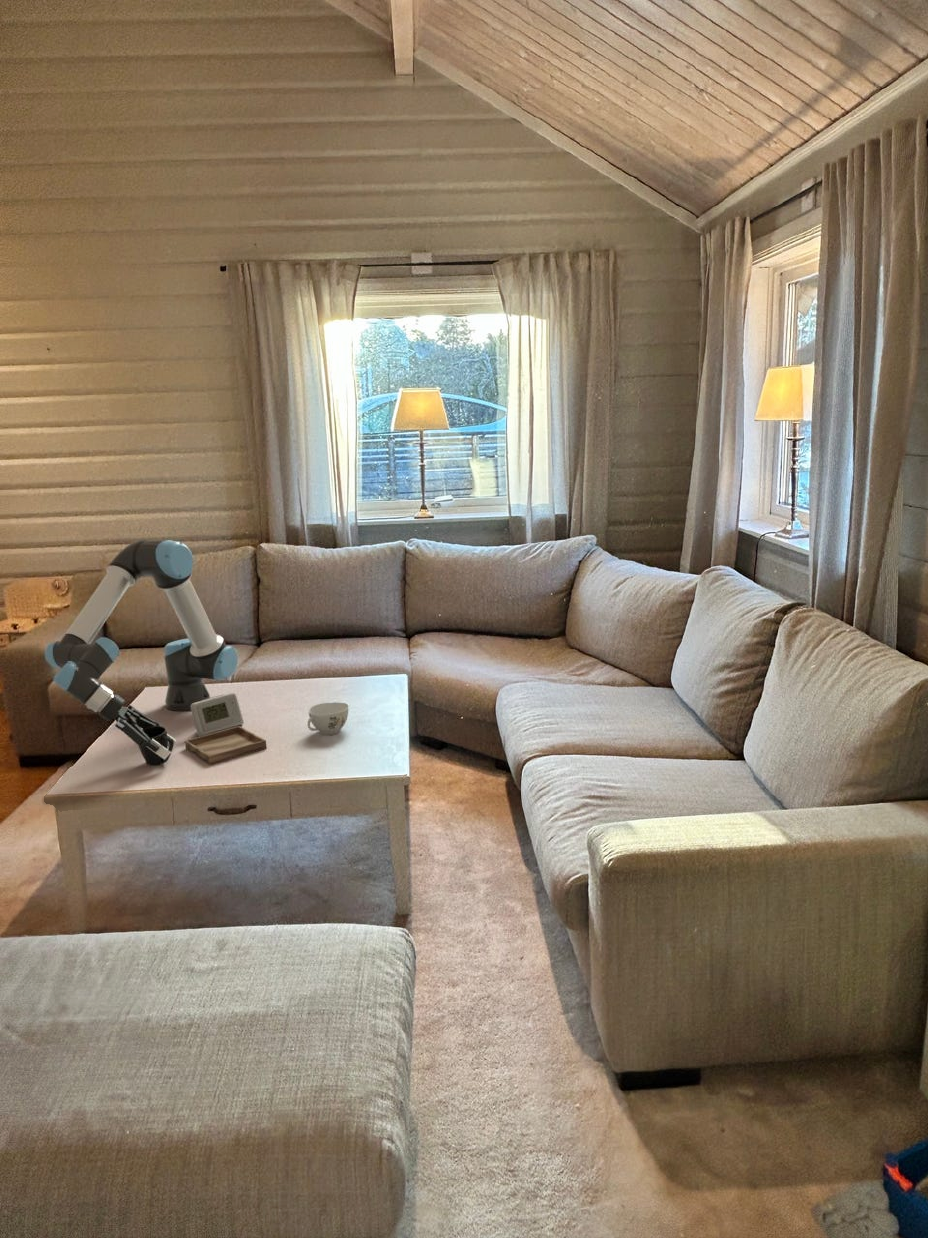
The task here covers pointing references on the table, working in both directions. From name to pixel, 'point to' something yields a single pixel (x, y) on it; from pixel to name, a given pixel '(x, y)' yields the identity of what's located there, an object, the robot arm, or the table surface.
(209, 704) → the digital clock
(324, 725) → the teacup
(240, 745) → the walnut tray
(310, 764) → the table surface
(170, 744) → the mug
